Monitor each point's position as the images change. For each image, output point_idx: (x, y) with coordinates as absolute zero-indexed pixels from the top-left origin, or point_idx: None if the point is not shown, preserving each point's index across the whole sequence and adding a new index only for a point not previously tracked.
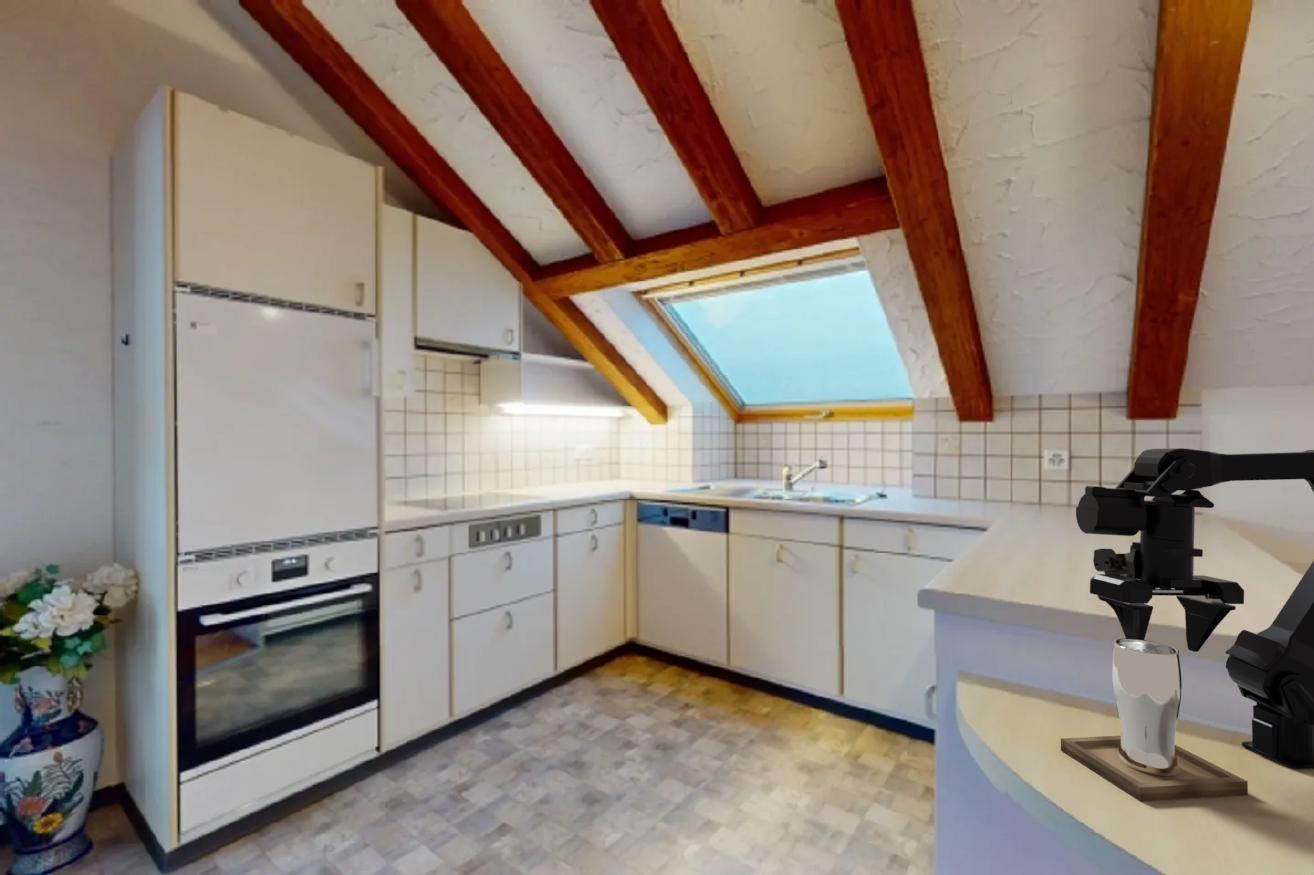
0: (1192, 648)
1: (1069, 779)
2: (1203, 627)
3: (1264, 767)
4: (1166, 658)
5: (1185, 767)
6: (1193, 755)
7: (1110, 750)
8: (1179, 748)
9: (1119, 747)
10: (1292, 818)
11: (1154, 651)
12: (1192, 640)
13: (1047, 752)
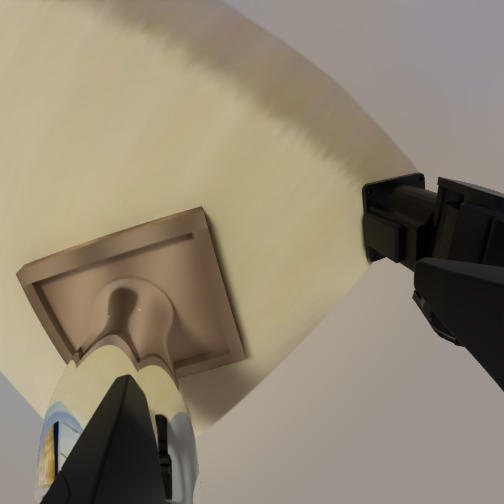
0: (421, 282)
1: (25, 347)
2: (492, 358)
3: (336, 256)
4: None
5: (191, 313)
6: (220, 296)
7: (91, 276)
8: (213, 273)
9: (91, 313)
10: (253, 380)
11: (165, 475)
12: (443, 299)
13: (6, 275)
